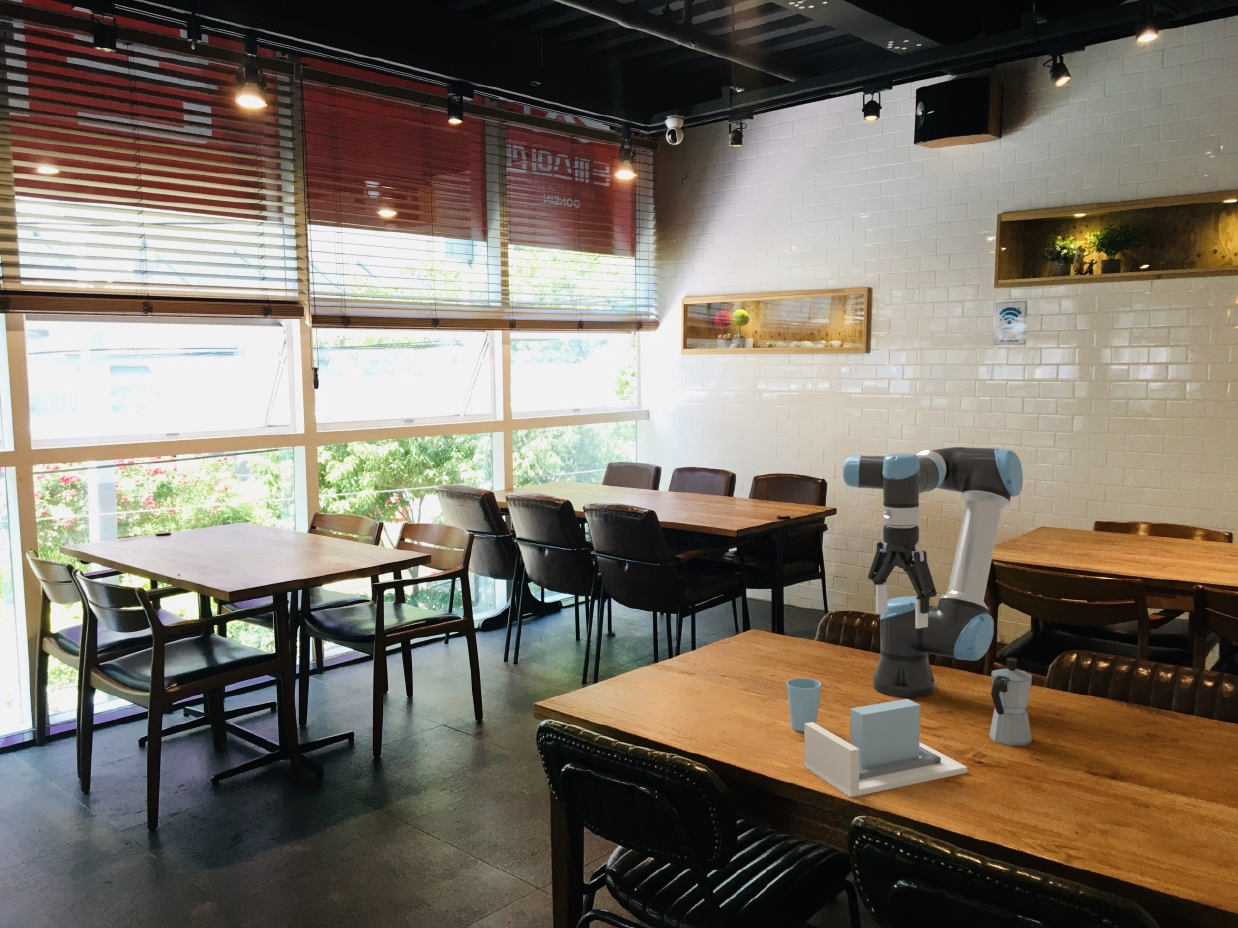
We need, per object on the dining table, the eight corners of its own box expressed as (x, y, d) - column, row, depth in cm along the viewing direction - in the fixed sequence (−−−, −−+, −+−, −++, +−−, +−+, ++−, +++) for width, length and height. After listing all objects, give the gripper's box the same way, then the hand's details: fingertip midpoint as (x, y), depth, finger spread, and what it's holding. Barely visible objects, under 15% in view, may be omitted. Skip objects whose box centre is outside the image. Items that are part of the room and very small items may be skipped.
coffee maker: (1003, 726, 225) (1005, 648, 223) (1042, 736, 219) (1044, 656, 217) (972, 744, 215) (974, 663, 213) (1012, 755, 208) (1014, 671, 207)
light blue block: (906, 754, 207) (907, 698, 205) (919, 761, 203) (920, 704, 202) (850, 765, 201) (850, 708, 200) (861, 773, 198) (862, 714, 197)
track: (915, 745, 215) (915, 703, 214) (967, 772, 200) (967, 728, 199) (804, 766, 204) (804, 723, 204) (850, 797, 190) (850, 750, 189)
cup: (828, 730, 224) (827, 685, 223) (799, 735, 221) (799, 690, 220) (808, 719, 231) (808, 676, 230) (780, 725, 228) (780, 680, 227)
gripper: (852, 518, 227) (852, 608, 229) (925, 535, 204) (925, 636, 207) (879, 515, 230) (879, 604, 232) (954, 532, 207) (953, 631, 209)
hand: (901, 619), depth 219 cm, fingers open, 13 cm apart
